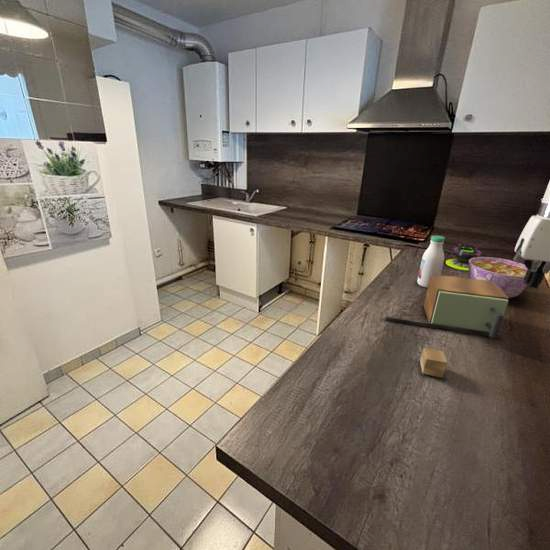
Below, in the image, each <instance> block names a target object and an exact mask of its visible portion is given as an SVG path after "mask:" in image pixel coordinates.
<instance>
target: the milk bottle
mask: <svg viewBox="0 0 550 550" xmlns="http://www.w3.org/2000/svg"><path fill="white" fill-rule="evenodd" d="M445 240H446V238H445V236H443V235H431V237H430V242H429V243H430V244H429V245H428V247H427V249H425V250H424V253H423V254H422V258H421V262H420V266H419V271H418V275H417V280H416V282H417V285H419V286H421V287H422V288H427V289H428V285H429V281H430V276H431V274H432V275H441V276H442V271H443V268H444V262H445V252H444V245H443V244H445Z"/></svg>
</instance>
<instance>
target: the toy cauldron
mask: <svg viewBox="0 0 550 550" xmlns="http://www.w3.org/2000/svg"><path fill="white" fill-rule="evenodd" d="M463 244H466V241H464V242H463ZM469 245H472V244H471V243H469ZM458 246H459V247H458ZM458 246H457V247H453V248H452V249H453V251H454V252H455V253H454V257H455V258H449V259H446V260H445V264H446V266H449V267H450V268H453V269H456V270H461V271H468V272H469V260H470V259H471V258H475V257H481V251H480V250H477V247H476V244H475V245H474V244H473V246H475V247H476V248H472V247H466V246H465V247H464V246H461V243H460V244H458Z"/></svg>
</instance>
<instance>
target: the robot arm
mask: <svg viewBox="0 0 550 550" xmlns="http://www.w3.org/2000/svg"><path fill="white" fill-rule="evenodd" d="M514 253H515V255H514V256H513V257H512V259H513V261H515V262H518V263H522V264H524V265H525V266H526V268H527V272H526V275H525V277H524V283H525V284H526V285H527V286H526V287H528V288H534V289H538V288H539V285H541V284H542V282H543V280H544V277H545V275H546V274H548V273H549V272H550V180H549V182H548V184H547V186H546V189H545V192H544V195H543V198H542V200H541V203H540V205H539V207H538V210H537V213H536V215H531V217H530V218H529V219H528V221H527V222H526V224H525V226H524V228H523V230H522V231H521V234H520V236H519V238H518V239H517V242H516V244H515V247H514Z"/></svg>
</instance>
